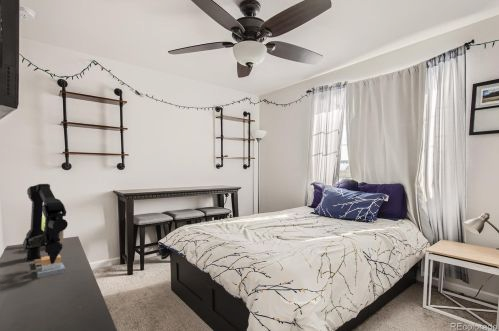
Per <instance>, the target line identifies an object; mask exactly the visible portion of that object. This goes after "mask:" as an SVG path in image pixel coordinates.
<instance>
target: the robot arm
mask: <svg viewBox="0 0 499 331" xmlns="http://www.w3.org/2000/svg"><path fill="white" fill-rule="evenodd" d="M26 193H27V195H28V199H29V200H30V201H31V212H30V213H31V216H30V229H29V230H28V231H27V233H26V235H25V238H24V240H23V243H22V250H25V251H26V257H25V258H24V259H25V260H24V261H25V262H31V261H35V259H41V257H42V253H41V251H42V250H41V248H42V247H44V246H45V250H44V251H45V252H44V253H47V256H49V257H50V262H51V264H53V263H54V262H55V260H56V258H57V256H58V254H60V253H61V251H62V249H63V247H62V243H61V242H57V241H60V231H63V232H64V231H65V230H66V229H67V228H68V224H69V223H68V221H67V220H66V219H65V218H64V217H66V215H67V210H66V208H65V205H64V203H63V202H62V201H61V200H60V199H59V198H56V197H55V195H54V193H53V191H52V189H51V184H50V183H38V184H36V185H33V186H32V185H31V186H29V187H28V188H27V190H26ZM43 214H44V217H45V230H44V231H43V230H42V215H43Z"/></svg>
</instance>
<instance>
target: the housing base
mask: <svg viewBox="0 0 499 331" xmlns="http://www.w3.org/2000/svg"><path fill="white" fill-rule="evenodd" d="M61 262H62V261H61ZM61 262H60V263H55V264H49V265H44V266H42V264H41V270H42V271H46V270H51V269H56V268H61Z"/></svg>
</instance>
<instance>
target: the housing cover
mask: <svg viewBox="0 0 499 331" xmlns="http://www.w3.org/2000/svg"><path fill="white" fill-rule="evenodd" d="M60 262H62V256H61V254H60V253H59V254H58V256H57V258H56V260H55V262H54V263H53V264H55V263H60ZM41 264H42V266H44V265H49V264H51V262H50V257H49V256H48V255H47V256H46V255H45V256H41Z"/></svg>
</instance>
